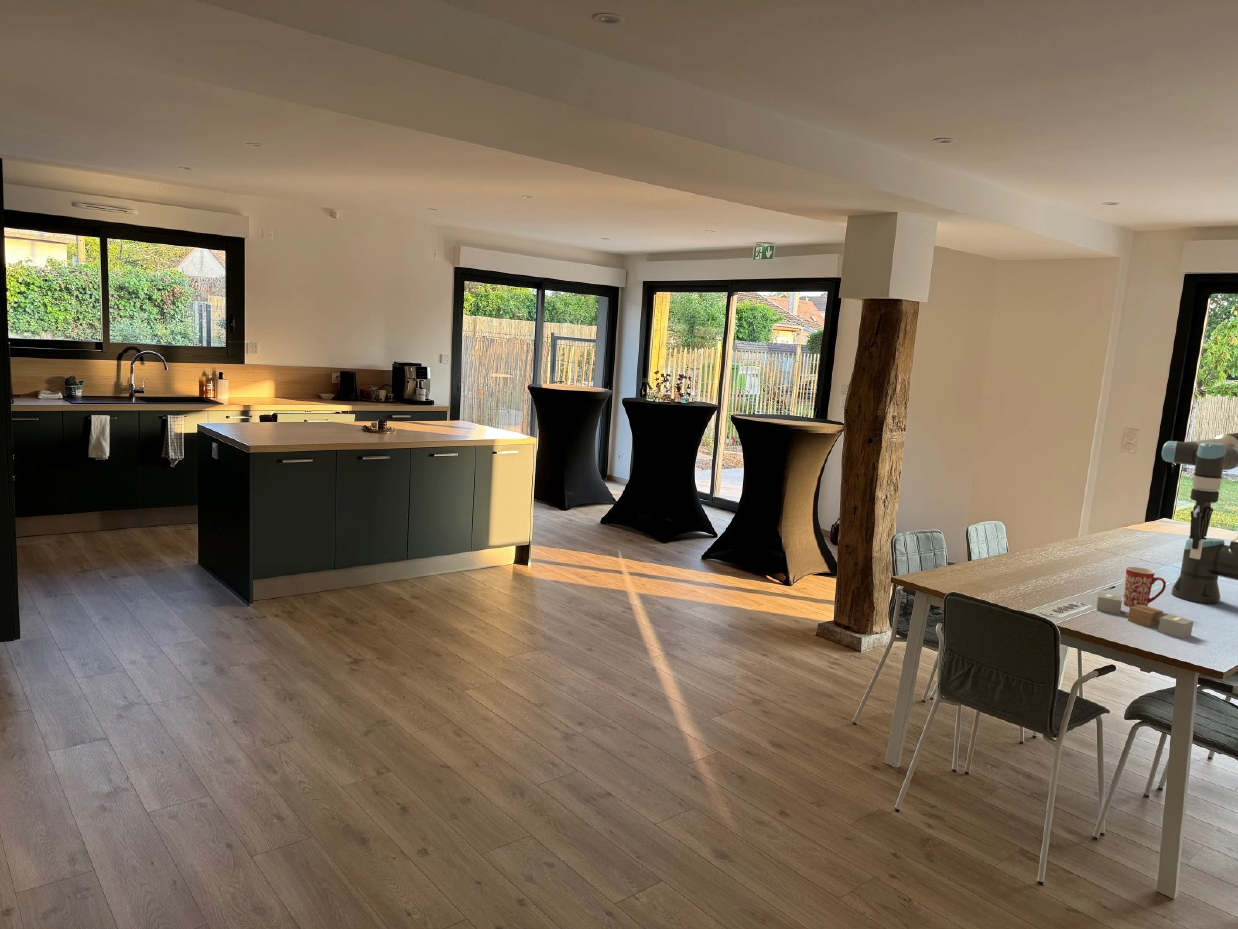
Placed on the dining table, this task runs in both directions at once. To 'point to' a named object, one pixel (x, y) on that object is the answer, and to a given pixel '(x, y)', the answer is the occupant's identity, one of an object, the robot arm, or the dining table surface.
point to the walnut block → (1145, 615)
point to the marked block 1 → (1109, 603)
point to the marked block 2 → (1175, 626)
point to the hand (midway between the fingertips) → (1194, 558)
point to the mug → (1140, 586)
